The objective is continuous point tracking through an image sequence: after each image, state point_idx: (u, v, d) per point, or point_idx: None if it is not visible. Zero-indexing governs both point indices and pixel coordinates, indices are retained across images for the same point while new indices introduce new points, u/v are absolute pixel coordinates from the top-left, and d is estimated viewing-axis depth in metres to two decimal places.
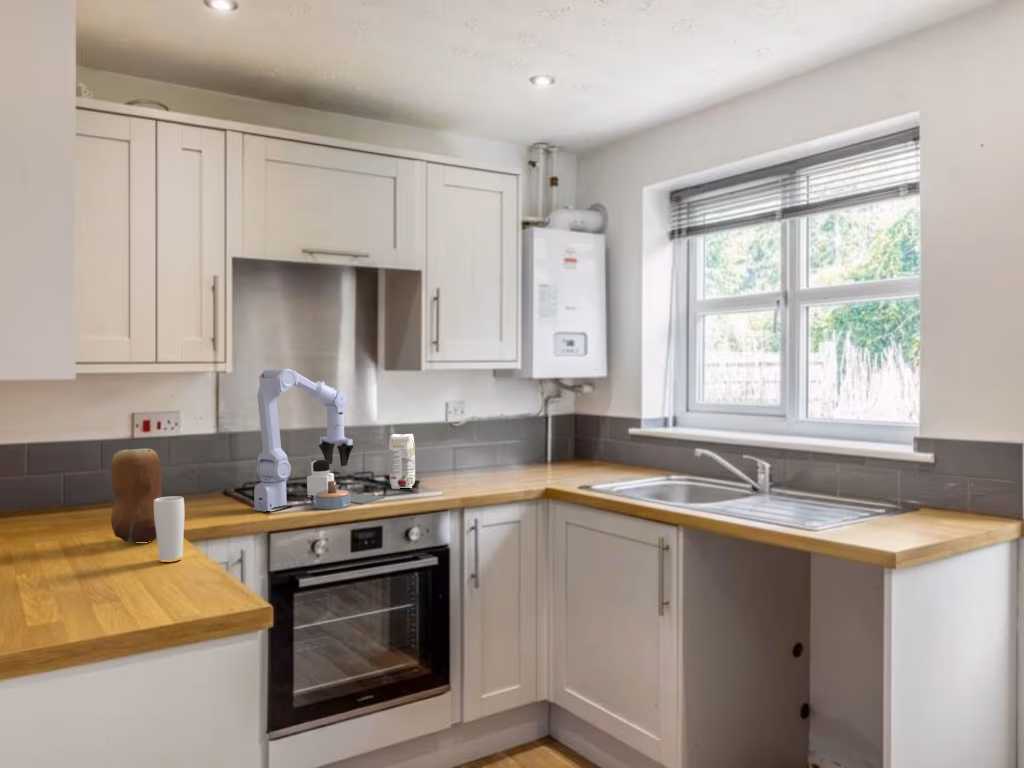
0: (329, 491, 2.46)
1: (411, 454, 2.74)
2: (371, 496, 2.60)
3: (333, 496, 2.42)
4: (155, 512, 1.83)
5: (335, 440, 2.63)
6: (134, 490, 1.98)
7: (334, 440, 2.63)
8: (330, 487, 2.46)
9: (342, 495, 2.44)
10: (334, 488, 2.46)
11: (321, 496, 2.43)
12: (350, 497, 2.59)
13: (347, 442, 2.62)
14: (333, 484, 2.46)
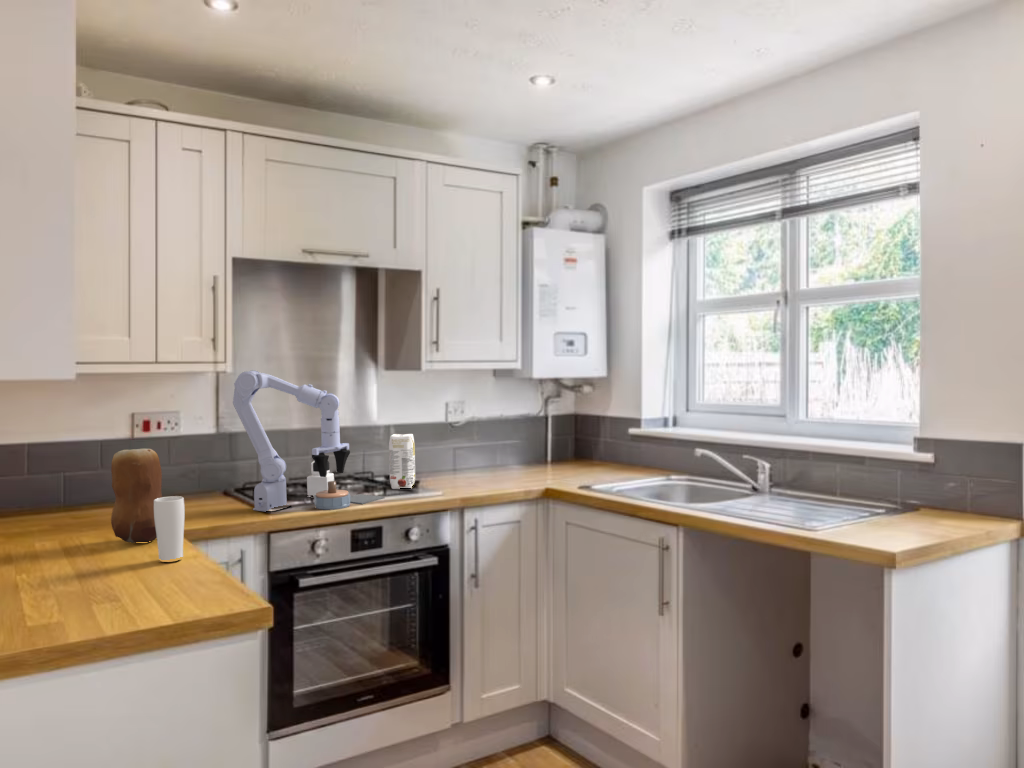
0: (329, 491, 2.46)
1: (411, 454, 2.74)
2: (371, 496, 2.60)
3: (333, 496, 2.42)
4: (155, 512, 1.83)
5: None
6: (134, 490, 1.98)
7: None
8: (330, 487, 2.46)
9: (342, 495, 2.44)
10: (334, 488, 2.46)
11: (321, 496, 2.43)
12: (350, 497, 2.59)
13: None
14: (333, 484, 2.46)
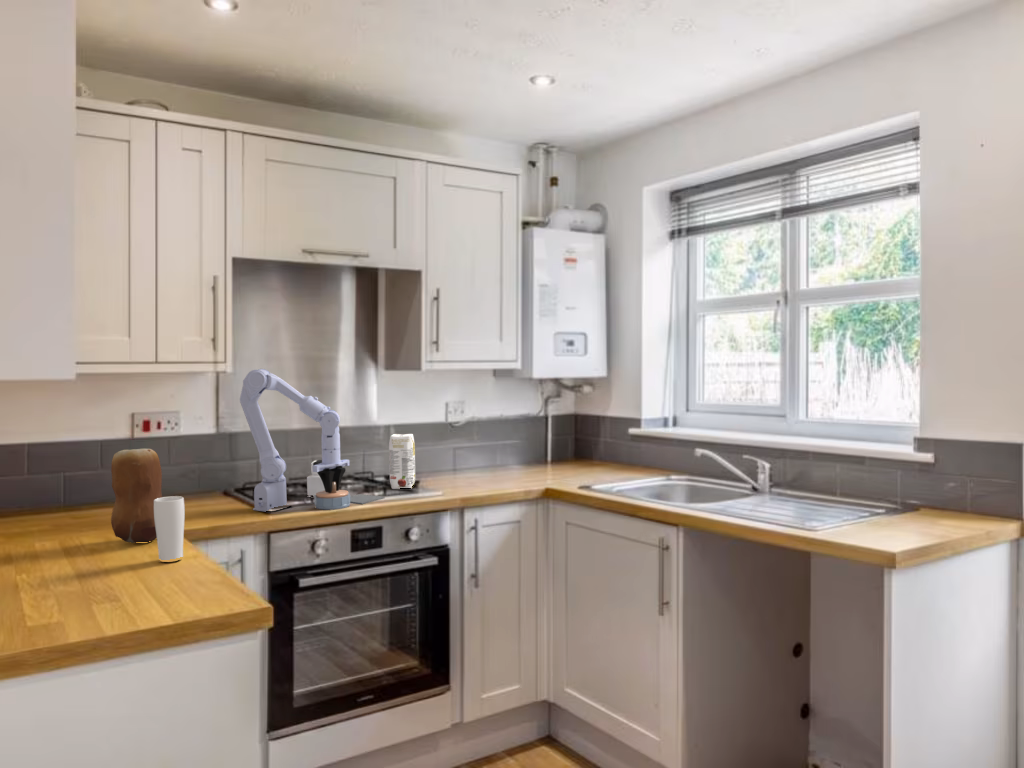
0: None
1: (411, 454, 2.74)
2: (371, 496, 2.60)
3: (333, 496, 2.42)
4: (155, 512, 1.83)
5: None
6: (134, 490, 1.98)
7: None
8: None
9: (342, 495, 2.44)
10: (334, 488, 2.46)
11: (321, 496, 2.43)
12: (350, 497, 2.59)
13: None
14: (333, 484, 2.46)
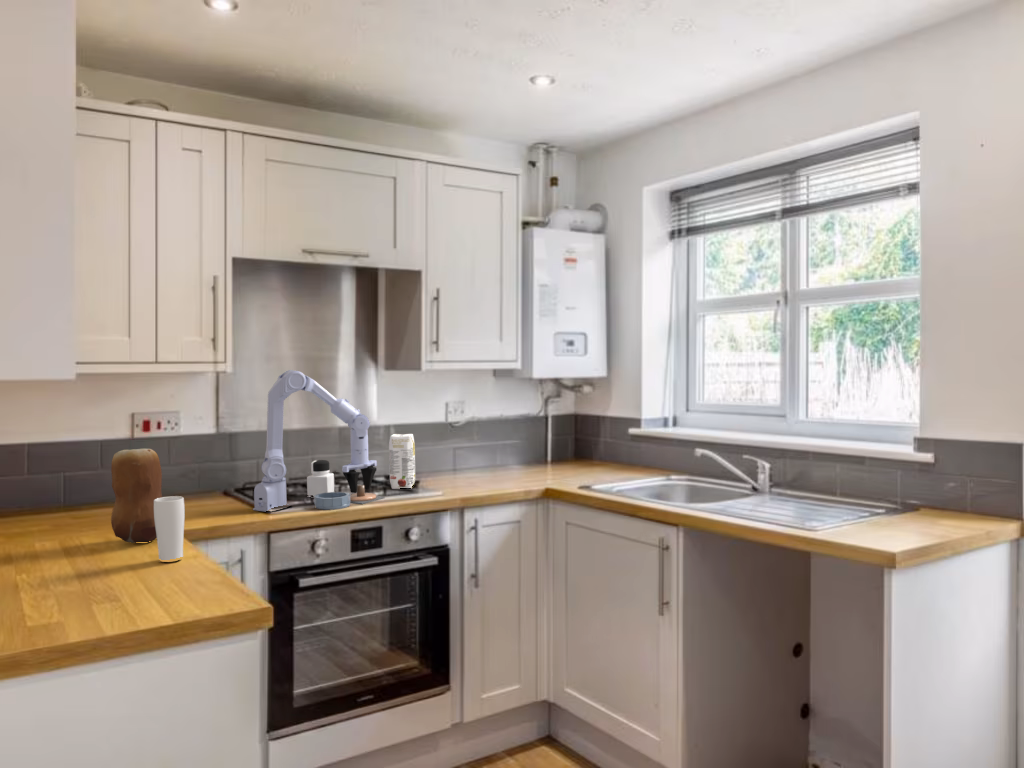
0: (358, 494, 2.56)
1: (411, 454, 2.74)
2: None
3: (363, 499, 2.52)
4: (155, 512, 1.83)
5: None
6: (134, 490, 1.98)
7: None
8: (359, 491, 2.56)
9: (371, 498, 2.54)
10: (363, 491, 2.56)
11: (351, 499, 2.52)
12: None
13: None
14: (362, 488, 2.56)
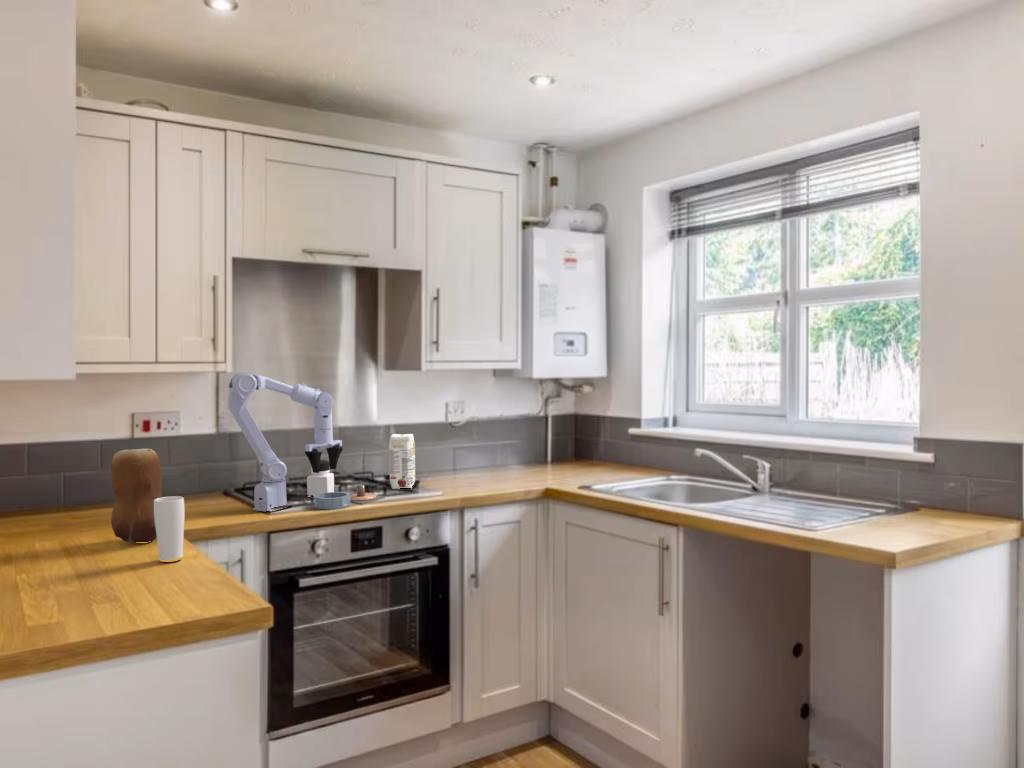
0: (358, 494, 2.56)
1: (411, 454, 2.74)
2: None
3: (363, 499, 2.52)
4: (155, 512, 1.84)
5: None
6: (134, 490, 1.98)
7: None
8: (359, 491, 2.56)
9: (371, 498, 2.54)
10: (363, 491, 2.56)
11: (351, 499, 2.52)
12: None
13: None
14: (362, 488, 2.56)
